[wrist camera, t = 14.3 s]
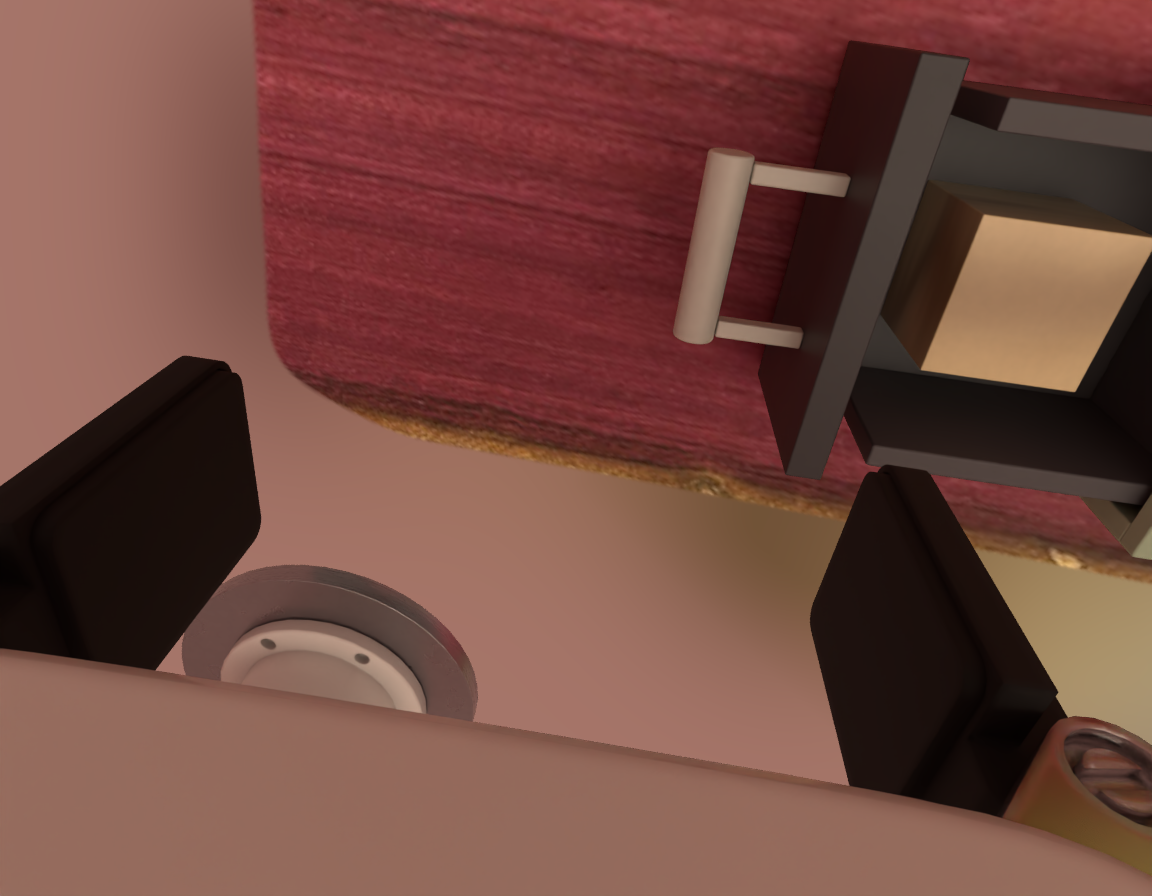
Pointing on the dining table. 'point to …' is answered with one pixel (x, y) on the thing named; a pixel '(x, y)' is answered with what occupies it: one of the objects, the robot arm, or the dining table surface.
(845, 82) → the pull-out tray
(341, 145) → the dining table surface
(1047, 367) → the block
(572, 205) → the dining table surface
